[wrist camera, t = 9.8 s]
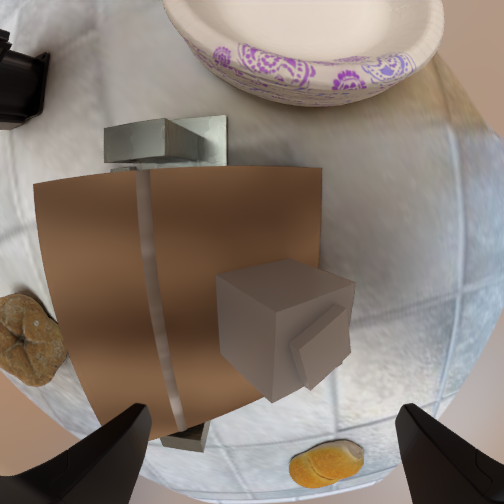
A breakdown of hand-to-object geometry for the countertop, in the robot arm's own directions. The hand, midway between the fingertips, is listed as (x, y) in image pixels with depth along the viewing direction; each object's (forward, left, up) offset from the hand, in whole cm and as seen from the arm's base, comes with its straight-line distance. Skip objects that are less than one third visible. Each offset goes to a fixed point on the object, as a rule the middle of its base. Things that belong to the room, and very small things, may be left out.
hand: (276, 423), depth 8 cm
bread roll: (+24, +7, -13) cm, 28 cm away
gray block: (0, -1, -9) cm, 9 cm away
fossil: (+6, -25, -13) cm, 29 cm away
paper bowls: (-19, +2, -13) cm, 23 cm away
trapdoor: (0, -7, -11) cm, 13 cm away
